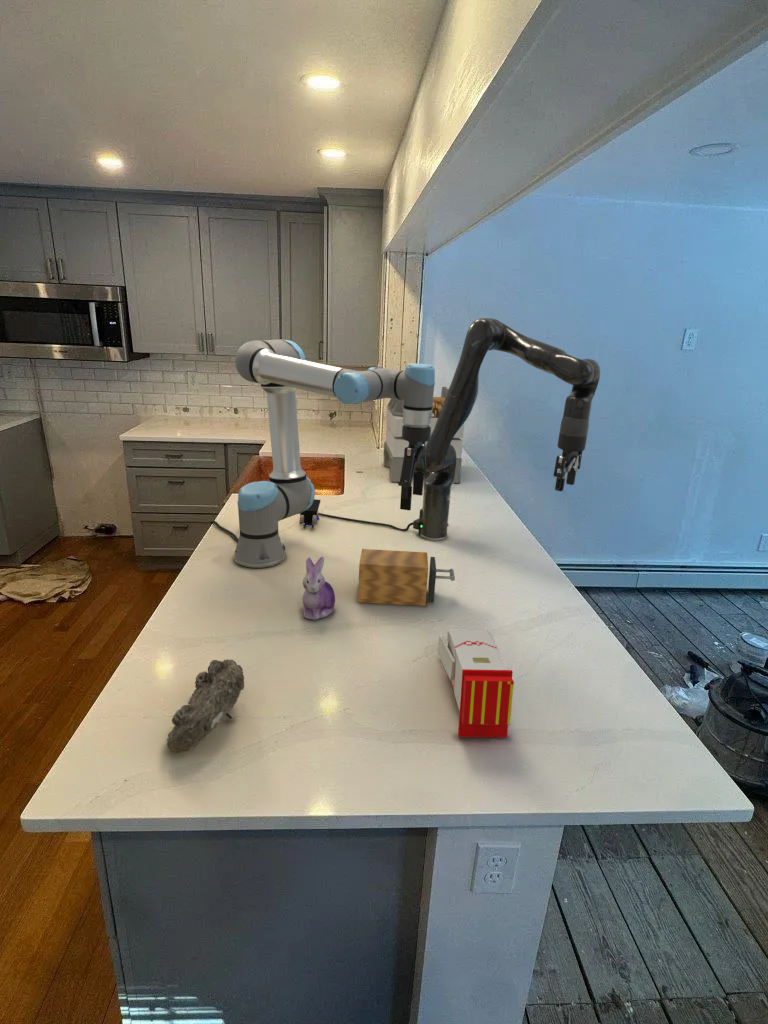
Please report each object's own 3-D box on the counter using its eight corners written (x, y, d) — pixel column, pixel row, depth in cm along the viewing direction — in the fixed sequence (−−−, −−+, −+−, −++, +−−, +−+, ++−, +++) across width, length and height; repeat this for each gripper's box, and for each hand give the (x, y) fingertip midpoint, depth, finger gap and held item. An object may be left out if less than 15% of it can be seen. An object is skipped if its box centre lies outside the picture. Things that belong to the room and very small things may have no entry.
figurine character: (317, 534, 199) (321, 515, 212) (317, 515, 196) (321, 497, 209) (298, 534, 199) (303, 515, 212) (298, 515, 195) (302, 496, 209)
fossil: (192, 660, 117) (244, 628, 112) (224, 691, 120) (276, 661, 115) (142, 746, 98) (202, 712, 93) (182, 779, 101) (242, 748, 96)
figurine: (308, 624, 140) (307, 569, 135) (294, 605, 149) (293, 553, 144) (343, 617, 145) (344, 563, 139) (327, 599, 153) (328, 548, 148)
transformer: (382, 463, 289) (386, 382, 275) (445, 464, 293) (451, 384, 279) (390, 482, 257) (394, 392, 243) (460, 483, 261) (468, 394, 247)
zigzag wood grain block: (424, 589, 161) (427, 552, 157) (425, 606, 152) (428, 567, 148) (360, 585, 162) (362, 548, 158) (358, 602, 152) (359, 563, 149)
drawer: (451, 588, 160) (453, 558, 157) (453, 603, 152) (456, 571, 149) (372, 583, 161) (374, 553, 158) (371, 598, 153) (372, 566, 149)
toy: (488, 613, 130) (523, 677, 101) (484, 667, 133) (517, 744, 104) (435, 612, 130) (455, 676, 101) (432, 666, 133) (451, 743, 103)
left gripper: (419, 435, 136) (414, 518, 143) (440, 418, 158) (434, 490, 166) (389, 432, 138) (385, 514, 145) (414, 415, 160) (409, 487, 167)
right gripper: (569, 427, 167) (561, 479, 172) (550, 433, 156) (542, 489, 161) (595, 431, 162) (585, 485, 168) (577, 438, 152) (567, 495, 157)
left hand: (411, 501), depth 155 cm, fingers open, 13 cm apart
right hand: (564, 487), depth 165 cm, fingers open, 8 cm apart
